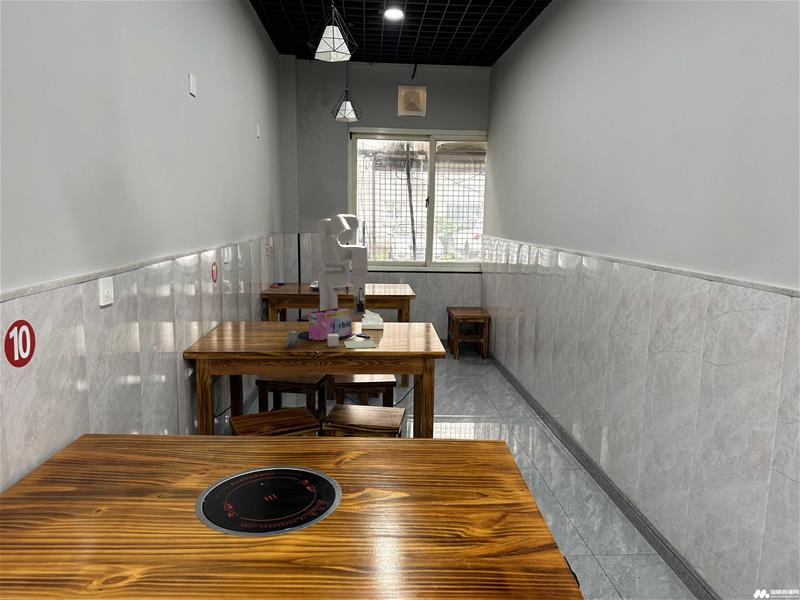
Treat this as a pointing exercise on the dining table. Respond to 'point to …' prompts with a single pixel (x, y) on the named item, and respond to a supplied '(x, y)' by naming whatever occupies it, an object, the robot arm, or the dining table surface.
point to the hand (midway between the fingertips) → (359, 310)
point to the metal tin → (292, 338)
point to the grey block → (333, 339)
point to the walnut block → (356, 307)
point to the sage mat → (359, 344)
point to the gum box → (330, 323)
